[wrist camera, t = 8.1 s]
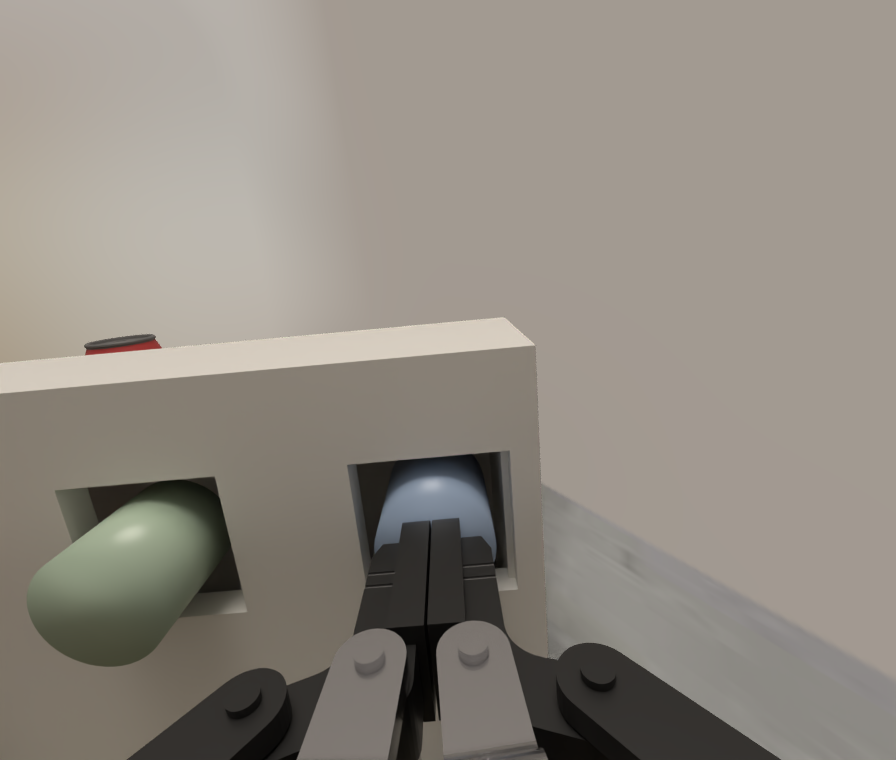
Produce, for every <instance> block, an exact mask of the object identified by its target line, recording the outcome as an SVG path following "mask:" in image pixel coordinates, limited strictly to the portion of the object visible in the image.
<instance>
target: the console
mask: <svg viewBox="0 0 896 760" xmlns="http://www.w3.org/2000/svg"><path fill="white" fill-rule="evenodd" d="M465 454H473V456H474V457H475V458H476V459H477V461H478V462H479V464H480V466H481V468H482V471H483V475H484V480H485V485H486V490H487V496H488V501H489V506H490V511H491V517H492V522H493V527H494V532H495V538H496V557H495V561H494V567H495V573H496V579H497V585H498V591H499V597H500V602H501V608H502V614H503V620H504V626H505V629H506V632H507V634H508V636H509V637H510V638H511V640H512V641H513V642H514V643H515V644H516V645H517V646H519V647H520V648H521V649H523V650H525V651H526V652H529V653H531V654H533V655H537V656H540V657H544V658H548V641H547V617H546V592H545V568H544V543H543V519H542V494H541V472H540V471H541V470H540V446H539V422H538V396H537V372H536V348H535V344H533V343H532V342H531V341H530V340H529V339H528V338H527V337H525V335H523V334H522V333H521V332H520V331H519V330H518V329H517V328H516V327H514V326H513V325H512V324H511V323H510V322H509V321H508V320H507V319H505V318H504V317H502V318H491V319H479V320H468V321H458V322H446V323H435V324H424V325H413V326H403V327H392V328H382V329H381V328H380V329H369V330H359V331H348V332H337V333H326V334H315V335H305V336H293V337H282V338H271V339H260V340H249V341H238V342H227V343H216V344H205V345H194V346H183V347H173V348H161V349H150V350H139V351H128V352H117V353H106V354H95V355H84V356H73V357H62V358H51V359H40V360H29V361H19V362H7V363H0V760H127V759H128V758H129V757H131V756H132V755H133V754H134V753H136V752H137V751H138V750H140V749H141V748H142V747H143V746H145V745H146V744H147V743H149V742H150V741H151V740H153V739H154V738H155V737H156V736H158V735H159V734H160V733H162V732H163V731H164V730H165V729H167V728H168V727H169V726H171V725H172V724H173V723H174V722H176V721H177V720H178V719H180V718H181V717H182V716H183V715H185V714H186V713H187V712H189V711H190V710H191V709H192V708H194V707H195V706H196V705H198V704H199V703H200V702H201V701H203V700H204V699H205V698H207V697H208V696H209V695H210V694H212V693H213V692H214V691H216V690H217V689H218V688H219V687H221V686H222V685H223V684H225V683H226V682H227V681H229V680H230V679H232V678H233V677H235V676H237V675H239V674H241V673H243V672H246V671H249V670H252V669H257V668H269V669H273V670H276V671H278V672H279V673H281V675H282V676H283V677H284V679H285V681H286V685H289V684H291V683H294V682H297V681H300V680H302V679H305V678H308V677H310V676H313V675H315V674H318V673H320V672H322V671H324V670H325V669H327V668H329V667H330V666H331V664H332V661H333V658H334V656H335V654H336V652H337V651H338V649H339V648H340V647H341V646H342V644H343V643H344V642H346V641H347V640H348V639H349V638H351V637H352V636H353V633H354V629H355V625H356V621H357V617H358V613H359V609H360V604H361V600H362V596H363V592H364V589H365V584H366V580H367V576H368V571H369V567H370V563H371V559H372V557H373V556H374V555H375V551H374V544H375V537H376V533H377V529H378V525H379V521H380V517H381V513H382V509H383V505H384V501H385V496H386V492H387V488H388V484H389V480H390V476H391V472H392V469H393V467H394V465H395V463H396V461H397V460H408V459H420V458H431V457H442V456H454V455H465ZM179 479H180V480H187V481H192V482H195V483H198V484H200V485H202V486H204V487H206V488H208V489H209V490H211V491H212V492H213V493H215V494H216V495H217V496H218V497H219V498H220V501H221V505H222V509H223V513H224V517H225V521H226V526H227V530H228V534H229V538H230V542H231V547H230V549H229V550H228V552H227V553H226V555H225V556H224V557H223V559H222V560H221V561H220V563H219V564H218V565H217V567H216V568H215V569H214V571H213V572H212V573H211V575H210V576H209V577H208V579H207V580H206V582H205V583H204V584H203V586H202V587H201V588H200V590H199V591H198V592H197V594H196V595H195V596H194V598H193V599H192V600H191V602H190V603H189V604H188V606H187V607H186V608H185V610H184V611H183V612H182V614H181V615H180V616H179V618H178V619H177V620H176V622H175V623H174V624H173V626H172V627H171V628H170V630H169V631H168V633H167V634H166V635H165V637H164V638H163V639H162V641H161V642H160V643H159V645H158V646H157V647H156V648H155V649H154V650H153V651H152V652H151V653H150V654H149V655H148V656H146V657H145V658H143V659H141V660H139V661H137V662H134V663H132V664H128V665H124V666H117V667H102V666H94V665H89V664H85V663H82V662H79V661H76V660H74V659H72V658H70V657H68V656H66V655H64V654H62V653H61V652H59V651H57V650H56V649H55V648H53V647H52V646H51V645H50V644H49V643H48V642H46V641H45V640H44V639H43V637H42V636H41V635H40V634H39V633H38V631H37V630H36V628H35V626H34V625H33V623H32V621H31V619H30V616H29V612H28V608H27V592H28V587H29V585H30V582H31V580H32V578H33V577H34V575H35V574H36V573H37V571H38V570H39V569H40V568H42V567H43V566H44V565H45V564H46V563H48V562H49V561H50V560H52V559H53V558H54V557H56V556H57V555H58V554H60V553H61V552H62V551H64V550H65V549H66V548H68V547H69V546H70V545H71V544H73V543H74V542H75V541H77V540H78V539H79V538H81V537H82V536H83V535H85V534H86V533H87V532H89V531H90V530H91V529H93V528H94V527H95V526H97V525H98V524H99V523H100V522H102V521H103V520H104V519H106V518H107V517H108V516H110V515H111V514H112V513H114V512H115V511H116V510H118V509H119V508H120V507H122V506H123V505H124V504H126V503H127V502H128V501H129V500H131V499H132V498H133V497H135V496H136V495H137V494H139V493H140V492H141V491H143V490H144V489H145V488H147V487H148V486H150V485H152V484H154V483H156V482H159V481H168V480H179ZM421 760H444V756H443V741H442V727H441V721H439V717H438V709H437V701H436V721H432V722H423V740H422V751H421Z"/></svg>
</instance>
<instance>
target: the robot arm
mask: <svg viewBox="0 0 896 760" xmlns="http://www.w3.org/2000/svg"><path fill="white" fill-rule="evenodd" d="M436 701H437V709H438V717H439V721H441V727H442V741H443V756H444V760H781V759H779V758H778V757H776V756H775V755H773V754H772V753H770V752H769V751H767V750H766V749H764V748H763V747H761V746H760V745H758V744H757V743H755V742H754V741H752V740H751V739H749V738H748V737H746V736H745V735H743V734H742V733H740V732H739V731H737V730H736V729H734V728H733V727H731V726H730V725H728V724H727V723H725V722H724V721H722V720H721V719H719V718H718V717H716V716H715V715H713V714H712V713H710V712H709V711H707V710H706V709H704V708H703V707H701V706H700V705H698V704H697V703H695V702H694V701H692V700H691V699H689V698H688V697H686V696H685V695H683V694H682V693H680V692H679V691H677V690H676V689H674V688H673V687H671V686H670V685H668V684H667V683H665V682H664V681H662V680H661V679H659V678H658V677H656V676H655V675H653V674H652V673H650V672H649V671H647V670H646V669H644V668H643V667H641V666H640V665H638V664H637V663H635V662H634V661H632V660H631V659H629V658H628V657H626V656H625V655H623V654H622V653H620V652H618V651H617V650H615V649H613V648H611V647H608V646H605V645H602V644H596V643H582V644H578V645H574V646H572V647H570V648H568V649H567V650H566V651H564V653H563V654H562V655H561V656H560V658H559V660H554V659H549V658H544V657H540V656H537V655H533V654H531V653H529V652H526V651H525V650H523V649H521V648H520V647H519V646H517V645H516V644H515V643H514V642H513V641H512V640H511V638H510V637H509V636H508V634H507V632H506V629H505V626H504V620H503V614H502V608H501V602H500V597H499V591H498V585H497V579H496V573H495V567H494V561H493V555H492V549H491V547H490V546H489V544H488V543H487V542H486V541H485V540H484V539H483V538H482V536H474V537H462V538H461V531H460V520H459V518H450V519H439V520H432V529H431V522H430V520H428V521H416V522H405V523H402V527H401V533H400V540H399V543H392V544H383V545H382V546H381V547H380V549H379V550H378V551H377V552H376V553H375V555H374V556H373V557H372V559H371V563H370V567H369V571H368V576H367V580H366V584H365V589H364V592H363V596H362V600H361V604H360V609H359V613H358V617H357V621H356V625H355V629H354V633H353V636H352V637H351V638H349V639H348V640H347V641H346V642H344V643H343V644H342V646H341V647H340V648H339V649H338V651H337V652H336V654H335V656H334V658H333V661H332V664H331V666H330V667H329V668H327V669H325V670H324V671H322V672H320V673H318V674H315V675H313V676H310V677H308V678H305V679H302V680H300V681H297V682H294V683H291V684H289V685H286V681H285V679H284V677H283V676H282V675H281V673H279V672H278V671H276V670H273V669H269V668H257V669H252V670H249V671H246V672H243V673H241V674H239V675H237V676H235V677H233V678H232V679H230V680H229V681H227V682H226V683H225V684H223V685H222V686H221V687H219V688H218V689H217V690H216V691H214V692H213V693H212V694H210V695H209V696H208V697H207V698H205V699H204V700H203V701H201V702H200V703H199V704H198V705H196V706H195V707H194V708H192V709H191V710H190V711H189V712H187V713H186V714H185V715H183V716H182V717H181V718H180V719H178V720H177V721H176V722H174V723H173V724H172V725H171V726H169V727H168V728H167V729H165V730H164V731H163V732H162V733H160V734H159V735H158V736H156V737H155V738H154V739H153V740H151V741H150V742H149V743H147V744H146V745H145V746H143V747H142V748H141V749H140V750H138V751H137V752H136V753H134V754H133V755H132V756H131V757H129V758H128V759H127V760H421V751H422V740H423V722H432V721H436Z"/></svg>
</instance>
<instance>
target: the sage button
mask: <svg viewBox="0 0 896 760" xmlns="http://www.w3.org/2000/svg"><path fill="white" fill-rule="evenodd" d="M230 547H231V542H230V538H229V534H228V530H227V526H226V521H225V517H224V513H223V509H222V505H221V501H220V498H219V497H218V496H217V495H216V494H215V493H213V492H212V491H211V490H209V489H208V488H206V487H204V486H202V485H200V484H198V483H195V482H192V481H187V480H180V479H179V480H168V481H159V482H156V483H154V484H152V485H150V486H148V487H147V488H145V489H144V490H143V491H141V492H140V493H139V494H137V495H136V496H135V497H133V498H132V499H131V500H129V501H128V502H127V503H126V504H124V505H123V506H122V507H120V508H119V509H118V510H116V511H115V512H114V513H112V514H111V515H110V516H108V517H107V518H106V519H104V520H103V521H102V522H100V523H99V524H98V525H97V526H95V527H94V528H93V529H91V530H90V531H89V532H87V533H86V534H85V535H83V536H82V537H81V538H79V539H78V540H77V541H75V542H74V543H73V544H71V545H70V546H69V547H68V548H66V549H65V550H64V551H62V552H61V553H60V554H58V555H57V556H56V557H54V558H53V559H52V560H50V561H49V562H48V563H46V564H45V565H44V566H43V567H42V568H40V569H39V570H38V571H37V573H36V574H35V575H34V577H33V578H32V580H31V582H30V585H29V587H28V592H27V608H28V612H29V616H30V619H31V621H32V623H33V625H34V626H35V628H36V630H37V631H38V633H39V634H40V635H41V636H42V637H43V639H44V640H45V641H46V642H48V643H49V644H50V645H51V646H52V647H53V648H55V649H56V650H57V651H59V652H61V653H62V654H64V655H66V656H68V657H70V658H72V659H74V660H76V661H79V662H82V663H85V664H89V665H94V666H102V667H117V666H124V665H128V664H132V663H134V662H137V661H139V660H141V659H143V658H145V657H146V656H148V655H149V654H150V653H151V652H152V651H153V650H154V649H155V648H156V647H157V646H158V645H159V643H160V642H161V641H162V639H163V638H164V637H165V635H166V634H167V633H168V631H169V630H170V628H171V627H172V626H173V624H174V623H175V622H176V620H177V619H178V618H179V616H180V615H181V614H182V612H183V611H184V610H185V608H186V607H187V606H188V604H189V603H190V602H191V600H192V599H193V598H194V596H195V595H196V594H197V592H198V591H199V590H200V588H201V587H202V586H203V584H204V583H205V582H206V580H207V579H208V577H209V576H210V575H211V573H212V572H213V571H214V569H215V568H216V567H217V565H218V564H219V563H220V561H221V560H222V559H223V557H224V556H225V555H226V553H227V552H228V550H229V549H230Z"/></svg>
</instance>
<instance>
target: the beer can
mask: <svg viewBox="0 0 896 760" xmlns="http://www.w3.org/2000/svg"><path fill="white" fill-rule="evenodd" d="M155 337H156V336H155V335H153V334H147V335H134V336H125V337H118V338H111V339H105V340H99V341H95V342H90V343H87V344H85V345H84V347H85V348H86V349H87V350H86V354H85V355H95V354H106V353H117V352H128V351H139V350H150V349H161V346H160V345H159V344H158V342H157V341H156V340H155Z"/></svg>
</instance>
